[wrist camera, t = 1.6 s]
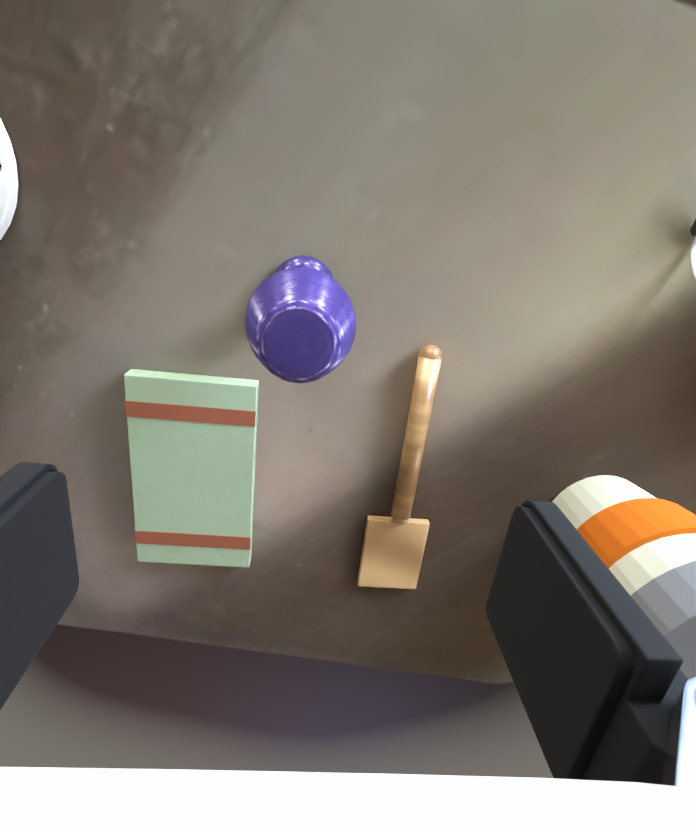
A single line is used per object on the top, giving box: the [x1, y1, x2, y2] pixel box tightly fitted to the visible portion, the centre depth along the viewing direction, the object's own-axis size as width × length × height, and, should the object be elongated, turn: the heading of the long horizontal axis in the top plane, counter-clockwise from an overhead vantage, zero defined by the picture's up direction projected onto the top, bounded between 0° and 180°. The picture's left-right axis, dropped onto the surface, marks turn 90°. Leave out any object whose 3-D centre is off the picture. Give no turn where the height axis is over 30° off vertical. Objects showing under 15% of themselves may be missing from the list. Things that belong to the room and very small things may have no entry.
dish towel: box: [124, 369, 259, 567], centre depth 36 cm, size 9×16×1 cm, turn 173°
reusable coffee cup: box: [552, 475, 696, 680], centre depth 34 cm, size 13×13×15 cm
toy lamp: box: [245, 256, 356, 383], centre depth 24 cm, size 5×5×17 cm
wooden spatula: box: [357, 345, 442, 589], centre depth 37 cm, size 22×5×2 cm, turn 174°
